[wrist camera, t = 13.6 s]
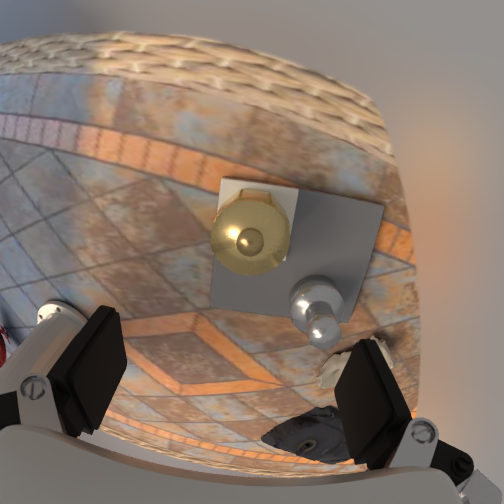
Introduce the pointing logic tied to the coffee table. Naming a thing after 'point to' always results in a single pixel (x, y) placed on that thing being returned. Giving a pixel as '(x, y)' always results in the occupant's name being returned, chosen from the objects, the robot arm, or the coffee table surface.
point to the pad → (282, 194)
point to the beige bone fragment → (337, 363)
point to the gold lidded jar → (251, 232)
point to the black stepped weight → (312, 436)
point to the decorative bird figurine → (2, 347)
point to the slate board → (307, 255)
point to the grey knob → (317, 310)
